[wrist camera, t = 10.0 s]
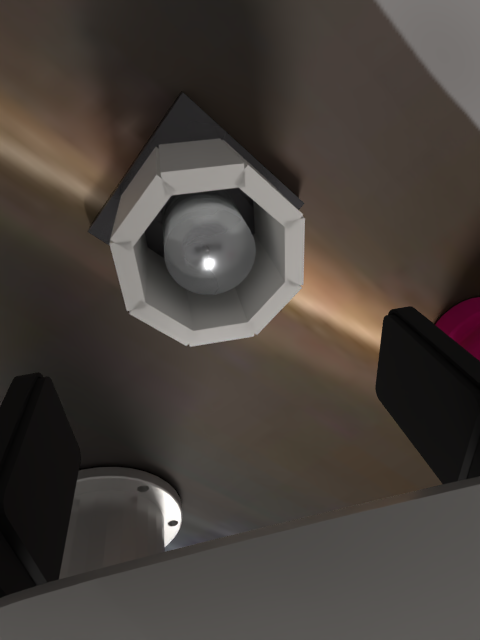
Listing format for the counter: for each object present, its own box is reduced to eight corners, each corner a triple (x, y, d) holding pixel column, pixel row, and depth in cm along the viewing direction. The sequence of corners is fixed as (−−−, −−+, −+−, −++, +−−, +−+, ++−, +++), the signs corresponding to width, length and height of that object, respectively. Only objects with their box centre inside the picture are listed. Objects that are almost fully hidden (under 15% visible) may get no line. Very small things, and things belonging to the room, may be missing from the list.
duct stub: (209, 301, 25) (223, 361, 20) (90, 225, 21) (70, 274, 16) (298, 198, 22) (340, 236, 17) (181, 91, 19) (192, 99, 14)
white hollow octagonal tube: (270, 272, 23) (302, 328, 18) (141, 291, 22) (138, 355, 17) (266, 133, 19) (306, 156, 14) (109, 149, 18) (92, 180, 13)
